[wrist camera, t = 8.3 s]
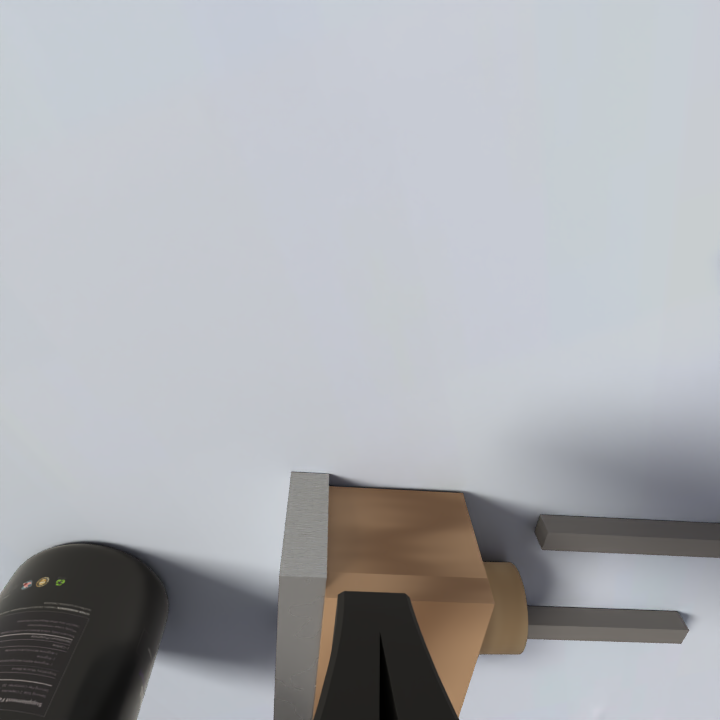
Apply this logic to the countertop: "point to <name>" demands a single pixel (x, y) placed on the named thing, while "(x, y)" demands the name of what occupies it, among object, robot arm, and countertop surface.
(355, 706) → the robot arm
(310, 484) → the steel backstop wall
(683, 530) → the guide rails
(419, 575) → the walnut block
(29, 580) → the supplement bottle
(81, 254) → the countertop surface
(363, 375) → the countertop surface
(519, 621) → the oak dowel
